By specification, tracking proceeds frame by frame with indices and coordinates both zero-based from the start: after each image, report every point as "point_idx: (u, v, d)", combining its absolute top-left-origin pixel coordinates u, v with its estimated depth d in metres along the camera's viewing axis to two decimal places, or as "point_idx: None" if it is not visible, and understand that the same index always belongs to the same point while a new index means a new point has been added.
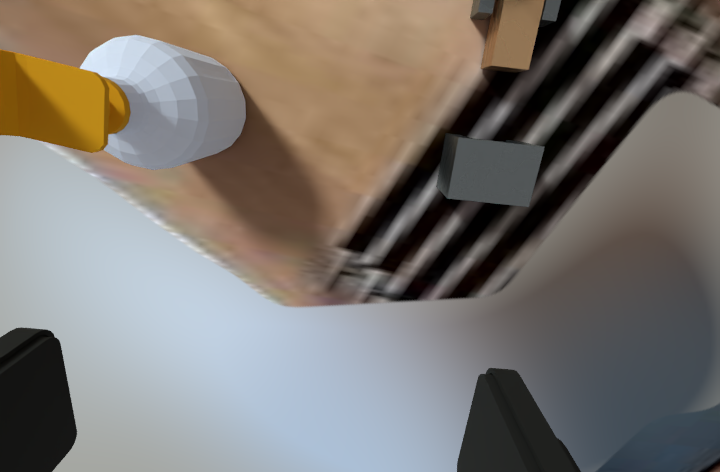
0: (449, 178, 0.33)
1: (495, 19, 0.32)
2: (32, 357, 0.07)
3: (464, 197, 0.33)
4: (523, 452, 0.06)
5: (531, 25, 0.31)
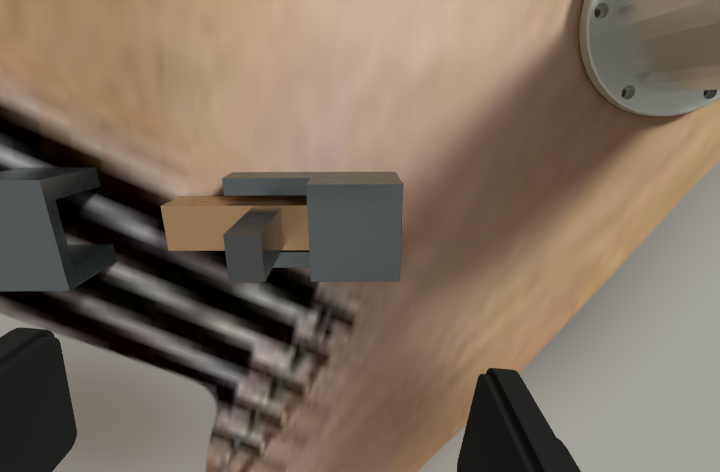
0: None
1: (223, 201, 0.26)
2: (32, 357, 0.07)
3: None
4: (523, 452, 0.06)
5: (214, 242, 0.26)
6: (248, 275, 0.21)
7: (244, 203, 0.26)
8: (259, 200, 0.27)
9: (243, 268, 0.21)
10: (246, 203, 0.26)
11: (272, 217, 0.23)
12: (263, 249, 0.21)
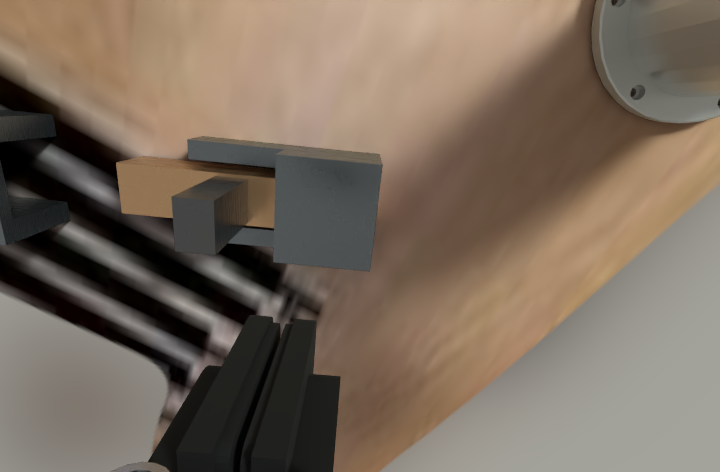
0: None
1: (187, 165, 0.24)
2: (274, 339, 0.09)
3: None
4: (271, 378, 0.07)
5: None
6: (197, 245, 0.19)
7: (209, 169, 0.24)
8: (227, 168, 0.24)
9: (192, 237, 0.18)
10: (212, 170, 0.24)
11: (235, 186, 0.21)
12: (216, 218, 0.18)
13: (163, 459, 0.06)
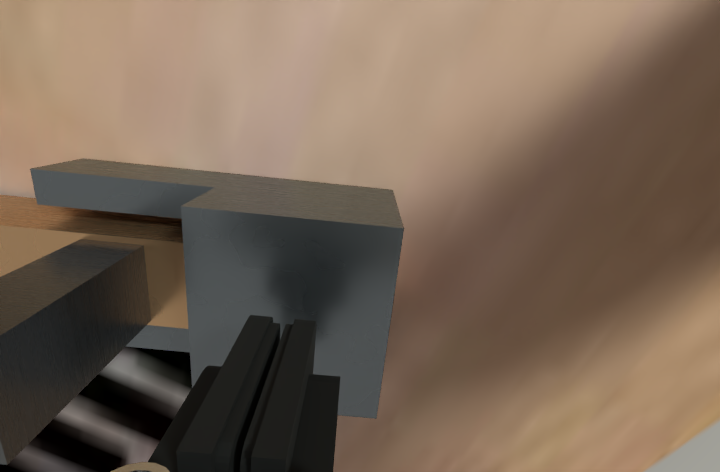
0: None
1: (43, 213, 0.13)
2: (273, 339, 0.09)
3: None
4: (271, 378, 0.07)
5: None
6: None
7: (76, 224, 0.13)
8: (117, 219, 0.13)
9: None
10: (81, 225, 0.13)
11: (94, 274, 0.10)
12: None
13: (163, 459, 0.06)
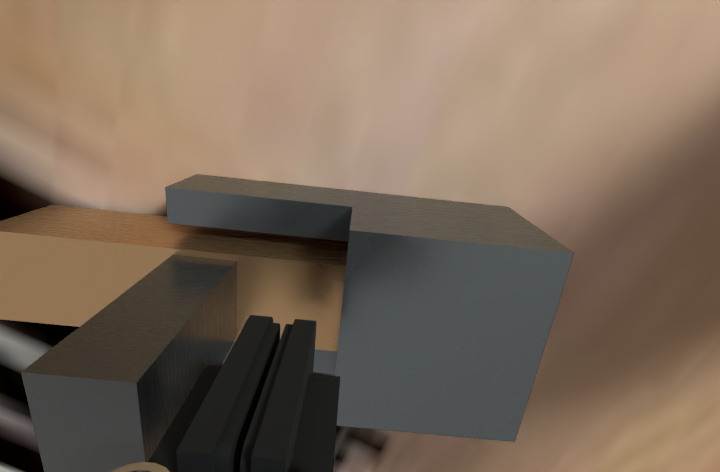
0: None
1: (124, 227, 0.13)
2: (274, 339, 0.09)
3: None
4: (271, 378, 0.07)
5: (94, 313, 0.12)
6: None
7: (164, 239, 0.12)
8: (200, 233, 0.13)
9: (87, 461, 0.07)
10: (168, 239, 0.12)
11: (206, 294, 0.10)
12: (148, 414, 0.07)
13: (163, 459, 0.06)
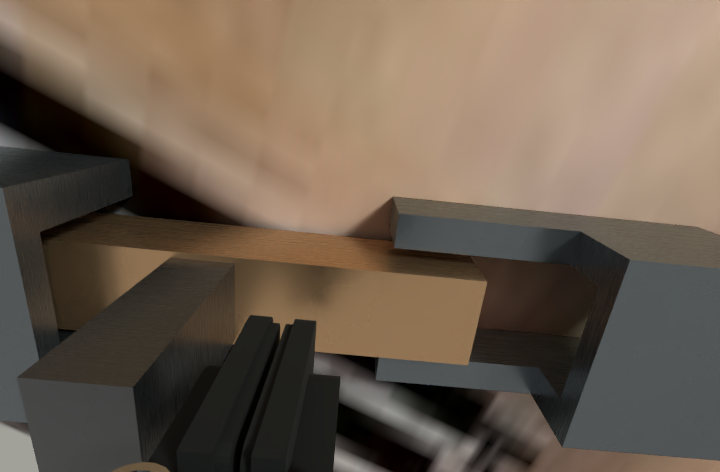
0: None
1: (122, 230, 0.13)
2: (273, 339, 0.09)
3: None
4: (271, 377, 0.07)
5: (92, 316, 0.12)
6: None
7: (161, 242, 0.12)
8: (197, 236, 0.13)
9: (84, 466, 0.07)
10: (166, 242, 0.12)
11: (204, 297, 0.10)
12: (144, 419, 0.07)
13: (163, 459, 0.06)
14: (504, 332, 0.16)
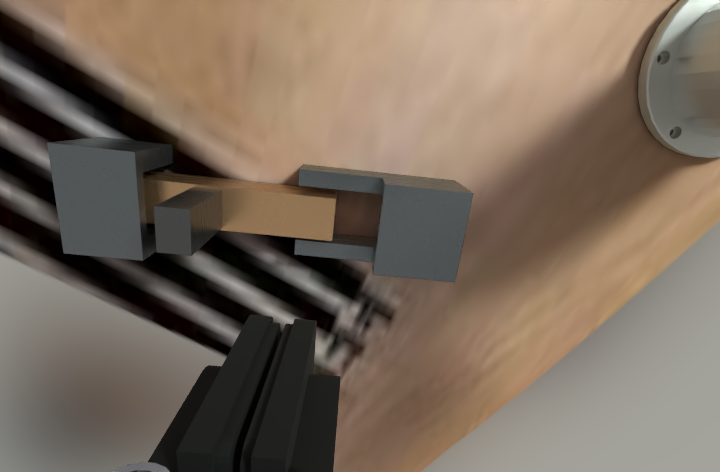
0: (81, 145, 0.24)
1: (168, 177, 0.27)
2: (274, 339, 0.09)
3: (54, 167, 0.24)
4: (271, 377, 0.07)
5: None
6: (176, 247, 0.22)
7: (188, 181, 0.27)
8: (204, 180, 0.28)
9: (171, 240, 0.22)
10: (190, 181, 0.27)
11: (209, 196, 0.24)
12: (192, 224, 0.22)
13: (163, 459, 0.06)
14: (366, 237, 0.31)
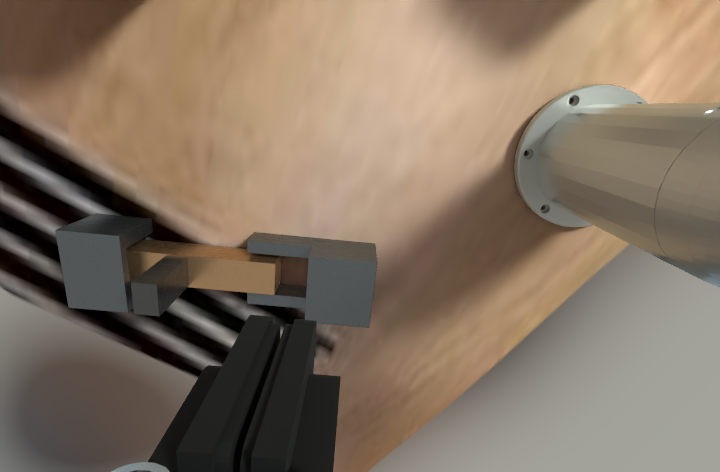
0: (80, 230, 0.32)
1: (148, 246, 0.36)
2: (274, 339, 0.09)
3: (61, 247, 0.32)
4: (271, 378, 0.07)
5: (138, 277, 0.35)
6: (147, 310, 0.30)
7: (162, 250, 0.35)
8: (175, 248, 0.36)
9: (144, 306, 0.30)
10: (164, 250, 0.35)
11: (175, 267, 0.32)
12: (158, 294, 0.30)
13: (163, 459, 0.06)
14: (307, 287, 0.39)
